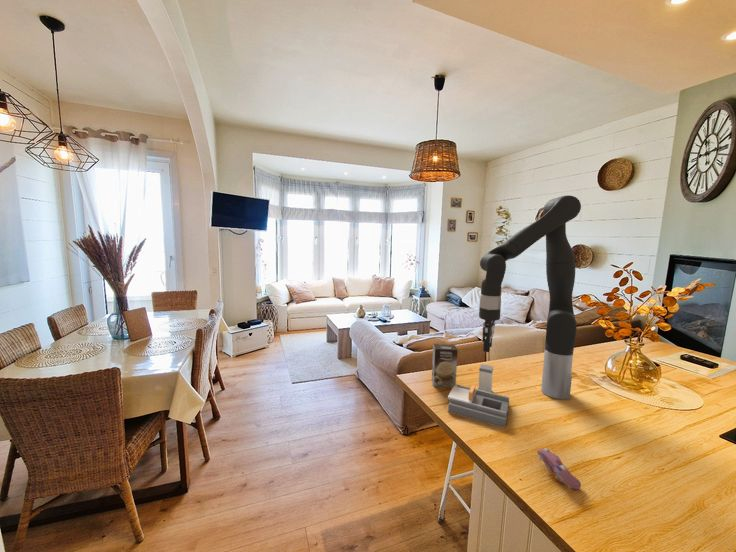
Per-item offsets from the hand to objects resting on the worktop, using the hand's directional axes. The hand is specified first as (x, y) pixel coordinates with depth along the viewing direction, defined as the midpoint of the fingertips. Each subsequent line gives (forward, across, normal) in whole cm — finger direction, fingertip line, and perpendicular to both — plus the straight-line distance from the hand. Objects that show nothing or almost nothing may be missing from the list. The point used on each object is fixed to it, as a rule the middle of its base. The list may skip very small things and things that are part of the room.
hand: (487, 348), depth 115 cm
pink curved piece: (+18, +36, +22) cm, 46 cm away
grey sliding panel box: (+17, +14, 0) cm, 22 cm away
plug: (+17, 0, 0) cm, 17 cm away
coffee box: (+18, +2, -16) cm, 24 cm away
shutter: (+14, +14, -6) cm, 21 cm away
